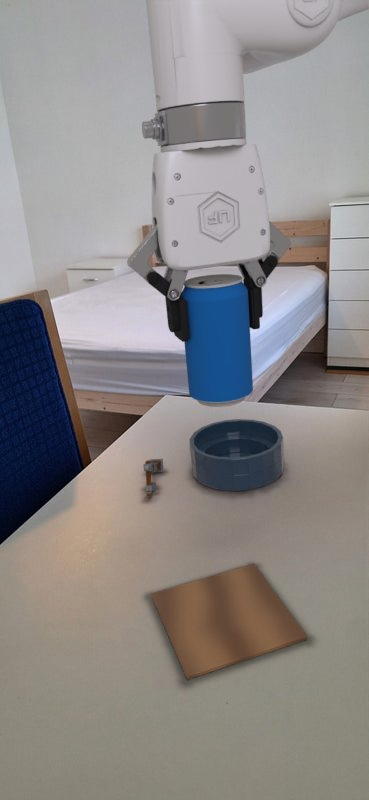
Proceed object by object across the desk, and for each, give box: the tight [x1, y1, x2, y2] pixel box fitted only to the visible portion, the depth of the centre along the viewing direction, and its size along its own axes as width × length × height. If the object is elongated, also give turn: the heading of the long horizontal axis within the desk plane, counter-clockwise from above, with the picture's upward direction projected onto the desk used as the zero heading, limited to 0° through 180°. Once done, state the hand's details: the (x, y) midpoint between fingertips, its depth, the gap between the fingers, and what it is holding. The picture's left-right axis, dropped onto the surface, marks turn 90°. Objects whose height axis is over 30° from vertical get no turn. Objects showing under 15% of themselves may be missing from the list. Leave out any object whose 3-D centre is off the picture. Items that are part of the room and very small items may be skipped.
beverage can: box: [182, 273, 254, 408], centre depth 59 cm, size 6×6×12 cm
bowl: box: [189, 418, 285, 492], centre depth 80 cm, size 12×12×5 cm
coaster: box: [150, 563, 308, 680], centre depth 55 cm, size 11×11×1 cm
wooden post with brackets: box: [142, 458, 164, 498], centre depth 78 cm, size 2×8×4 cm, turn 175°
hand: (216, 330), depth 58 cm, fingers closed on beverage can, 6 cm apart
